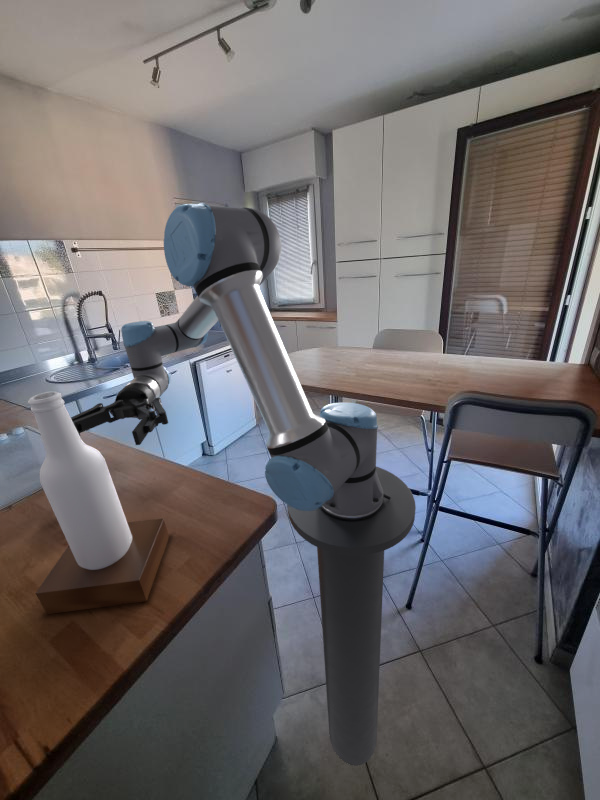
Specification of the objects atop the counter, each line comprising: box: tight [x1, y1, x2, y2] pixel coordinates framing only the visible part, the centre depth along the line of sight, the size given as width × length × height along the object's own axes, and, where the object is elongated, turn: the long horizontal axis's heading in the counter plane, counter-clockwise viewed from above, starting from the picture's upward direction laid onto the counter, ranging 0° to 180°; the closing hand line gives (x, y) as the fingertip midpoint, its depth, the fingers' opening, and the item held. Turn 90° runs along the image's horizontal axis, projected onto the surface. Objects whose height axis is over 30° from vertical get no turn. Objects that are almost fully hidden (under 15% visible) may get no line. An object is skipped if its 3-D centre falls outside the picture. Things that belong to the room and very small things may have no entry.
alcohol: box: [27, 390, 132, 570], centre depth 53 cm, size 9×9×30 cm
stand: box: [35, 517, 170, 615], centre depth 60 cm, size 16×14×5 cm
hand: (96, 442), depth 59 cm, fingers open, 13 cm apart
